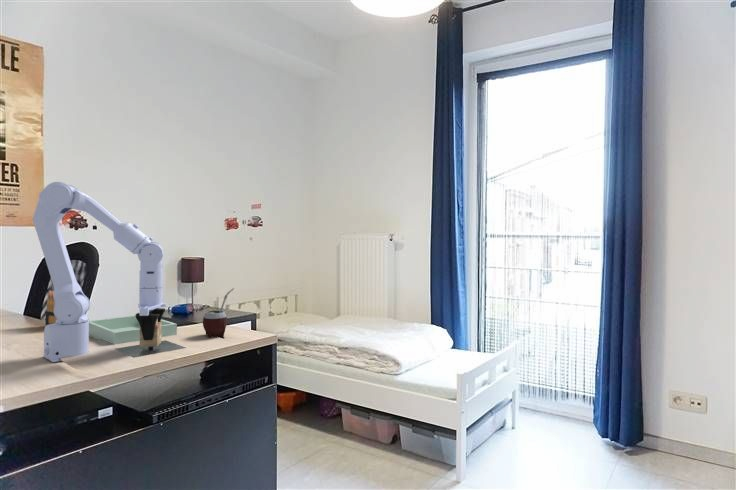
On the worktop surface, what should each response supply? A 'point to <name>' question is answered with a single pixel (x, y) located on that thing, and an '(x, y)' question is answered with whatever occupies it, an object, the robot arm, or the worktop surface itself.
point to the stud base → (149, 349)
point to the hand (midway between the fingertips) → (150, 337)
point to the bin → (124, 329)
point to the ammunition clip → (50, 309)
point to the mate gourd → (215, 321)
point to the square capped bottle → (156, 338)
